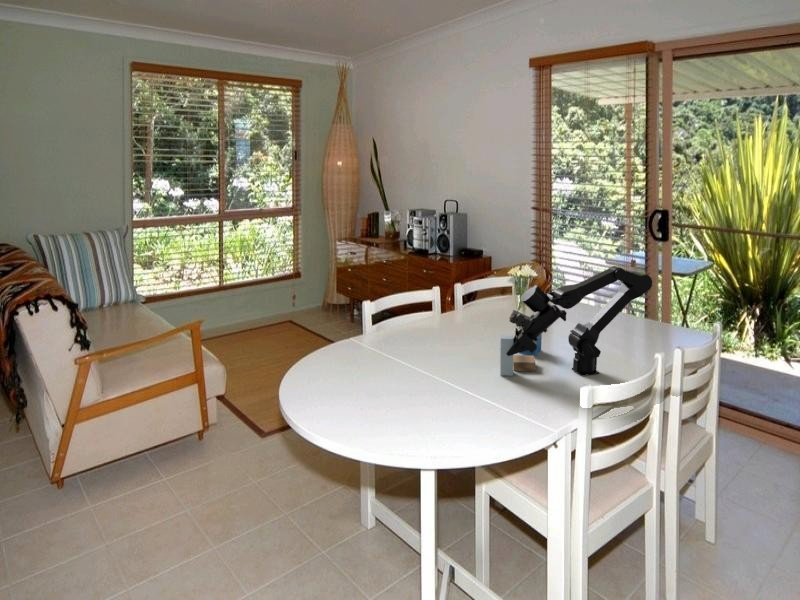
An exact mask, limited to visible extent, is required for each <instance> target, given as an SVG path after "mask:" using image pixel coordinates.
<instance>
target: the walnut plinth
mask: <svg viewBox="0 0 800 600" xmlns="http://www.w3.org/2000/svg"><path fill="white" fill-rule="evenodd" d="M514 371H515V372H518V371H519V372H536V360H535V356H534V355H527V354H522V355H520V354H519V355H517V354H514V355H513V372H514Z"/></svg>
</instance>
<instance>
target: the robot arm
mask: <svg viewBox="0 0 800 600" xmlns="http://www.w3.org/2000/svg"><path fill="white" fill-rule="evenodd" d="M618 281H620V282H621V283H620V287H619V289H618V291H617V292H616V293H615V294H614V295H613V296H612V297H611V299H610V300H609V301H607V303H606V304H605V305H604V306H603V307H602V308H601V309H600V310H599V311H598V312H597V313H596V314H595V315H594V316H592V318H591V319H590V320H589V321H588V322H587V323H584V324H582V323H580V322H578V323H577V324H576V325H575V326H574V328H573V329H571V330H570V333H569V335H568V340H567V341H568V344H569V345H570V346H571V347H572V349H573V351H575V352H574V358H573V362H572V366H573V367H571V370H572V371H573V370H574V371H573V372H575V373H576V372H577V374H578V375H579V376H581V375H584V376H590V375H591V374H592V375H597V374H600V372H599V371H598V370H597V363H598V362H597V361H598V358H600V355H601V352H602V351H601V350H600V348H598V347H597V346H596V344H597V343H598V340H599V338H600V334H601V332H602V331H604V330H605V328H607V326H608V325H609V324H610V323H611V322H612V321H613V320H614V319H615V318H616V317H617V316H618V315H619V314H620V312H622V311H623V310H624V309H625V307H627V306H628V305H629V304H630V302H632V301H634V300H637V299H638V298H640V297H642V296H643V295H645V294H646V293H648V292H649V291H650V290H651V289H652V287H653V278H652V277H651V276H650V275H648V274H645V273H643V272H642V273H641V272H639V271H633V270H632V271H628V270H626V269H624V268H622V267H620V266H616V265H613V266H610V267H608V268H607V269H605V270H604V271H601V272H599V273H597V274H595V275H593V276H590V277H589V278H587V279H584V280H581V281H579V282H578V283H574V284H567V285H564V286H560V287H556V289H554V290H553V291H550V292H546V293H545V292H544V291H543V290H542V288H541V287H540V286H538V285H537V284H535V285H533V286H532V287H530V288H529V289H527V290H525V291H524V292H523V293H522V295H521V297H520V301H521V302H522V303H523V304H524V305H525V306H526V307H528V309H530V310H531V311H532V312H533V314H531V315H530V316H528V315H526V314H525V313H521V312H520V311H518V310H515V309H513V310H512V312H511V314H510V317H508V319H509V320H508V321H509V322H510V323H512V324H515V326H516V327H515V328H514V330H515V331H514V332H515V333H514V335H513V345H512V347H511V348H510V349H509V350H508V352H507V353H506V354H507V355H508V356H510V355H517V354H521V353H520V352H524V351H528V350H529V351H530V352H531V353H533V352H534V351H535V350H536V349H537V344H536V341H537V340H538V338H537V337H539V336H540V335H541V334H543V333H547V332H548V328H550V327H551V326H552V325H553V324H554V323H555V322H557V321H558V320H559V319H561V320H562V321H563V322H566V321H567V313H568V312H567V311H566V310H570V309H572V308H574V307H575V306H577V305H579V303H581V301H582V300H583V299H584V298H585V297H587V296H588V295H590V294H592V293H594V292H597V291H599V290H600V289H603V288H605V287H607V286H609V285H611V284H614V283H615V282H618ZM549 302H550V303H549ZM551 303H552V305H551ZM558 306H559V307H561V308H562V309H560V308H559V307H558ZM534 313H535V314H534ZM517 327H519V328H517Z"/></svg>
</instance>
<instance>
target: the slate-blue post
mask: <svg viewBox="0 0 800 600" xmlns="http://www.w3.org/2000/svg"><path fill="white" fill-rule="evenodd" d="M513 338H514V335H513V334H500V349H499V350H500V358H499V359H500V360H499V361H500V364H499V365H500V368H499V369H500V370H499V372H500V376H507V377H508V376H509V377H510V376H514V369H513V355H510V356H508V355H507V354H506V353H507V352H508V350H509V349H510V348H511V347H512V345H513Z"/></svg>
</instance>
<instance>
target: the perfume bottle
mask: <svg viewBox="0 0 800 600" xmlns="http://www.w3.org/2000/svg"><path fill="white" fill-rule="evenodd" d="M542 334H543V333H542ZM542 334H541V335H540V336H539V337H537V338H538V340H537V341H536V344H537V349H536V350H535V351H534V352H533V353H531V352H530V351H529V350H528V351H524V352H520V353H519V354H522V355H527V356H534V357H536V356H537V355H538V354H539V353H541V352H542V336H543V335H542Z"/></svg>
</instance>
